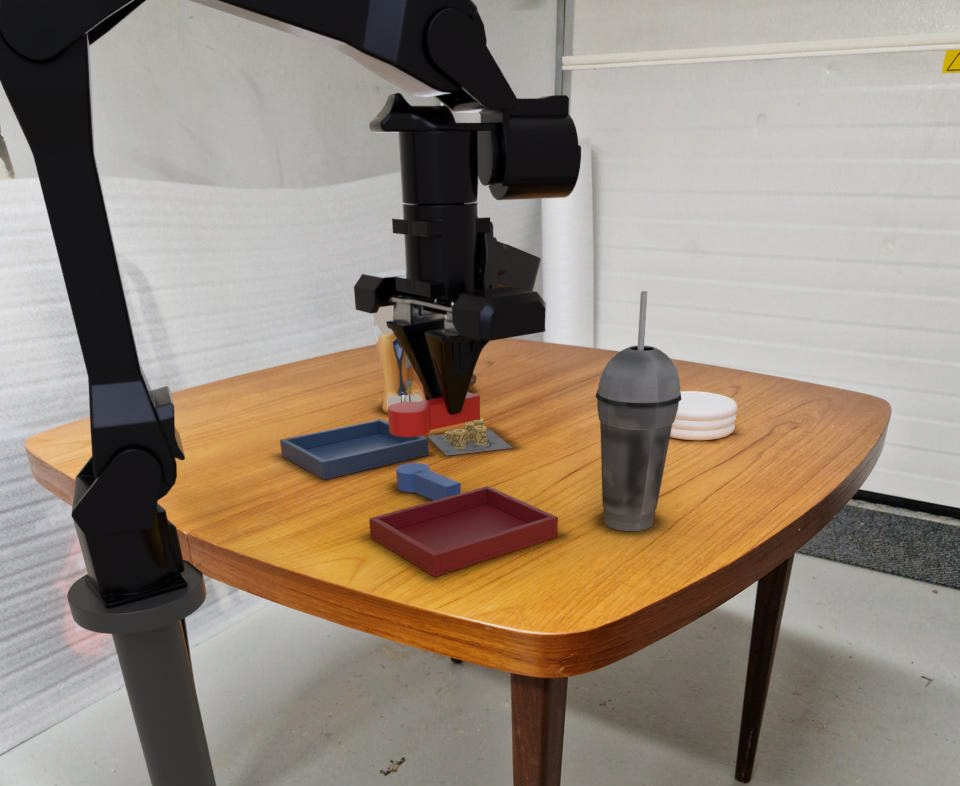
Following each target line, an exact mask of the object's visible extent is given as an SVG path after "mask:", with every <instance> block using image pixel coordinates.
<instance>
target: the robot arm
mask: <svg viewBox="0 0 960 786" xmlns="http://www.w3.org/2000/svg"><path fill="white" fill-rule="evenodd" d="M147 1H148V0H0V84H1V86H2V89H3V92H4V93H5V96H6V98H7V100H8V103H9V104H10V107H11V109H12V111H13V113H14V116H15V117H16V118H15V119H16V121H17V123H18V124H19V127H20V129H21V131H22V133H23V135H24V138H25V140H26V142H27V144H28V147H29V149H30V152H31V154H32V157H33V160H34V165H35V169H36V172H37V176H38V180H39V184H40V188H41V193H42V197H43V201H44V205H45V209H46V213H47V217H48V220H49V224H50V225H49V226H50V229H51V233H52V237H53V241H54V244H55V245H54V246H55V249H56V253H57V257H58V261H59V265H60V270H61V273H62V274H61V275H62V277H63V281H64V286H65V289H66V294H67V298H68V302H69V306H70V310H71V313H72V318H73V321H74V325H75V330H76V334H77V338H78V343H79V346H80V350H81V353H82V354H81V355H82V358H83V362H84V366H85V370H86V374H87V379H88V380H87V382H88V403H89V425H90V440H91V441H90V443H91V445H90V446H91V456H90V458H89V459H88V460H87V461H86V463H84V465H83V466H82V468H81V469H80V470H79V471H78V473H77V474H76V475H75V479H74V488H73V497H72V504H71V505H72V506H71V514H70V516H71V518H72V521H73V524H74V527H75V531H76V535H77V539H78V543H79V546H80V550H81V553H82V557H83V562H84V565H85V568H86V573H87V574H88V575H86V574H85V575H86V576H85V577H84V579H85V583H86V584H87V585H88V587H89V588H90V589H91V590H92V592H93V593H94V594H95V595H96V597H97V598H98V599H99V600H100V602H101V603H102V604H103V605H104V607H105V608H107V609H112V608H116V607H119V606H123V605H126V604H130V603H133V602H137V601H140V600H144V599H148V598H151V597H155V596H158V595H162V594H165V593H169V592H172V591H176V590H179V589H183V588H186V587H187V586H188V583H187V580H186V579H185V578H184V577H183V576H182V575H181V574H180V573H182V572H184V570H185V567H184V562H183V560H184V558H183V553H182V547H181V543H180V539H179V534H178V528H177V525H175V524H174V523H173V522H172V521H170V520H169V518H168V514H167V510H166V509H165V508H164V507H163V506H162V505H160V503H158V502H159V500H161V499H162V498H164V497H165V496H167V495H168V494H169V492H170V491H171V489H172V488H173V487H174V486H175V484H176V483H177V477H178V466H177V460H179V461H184V460H185V459H186V456H185V451H184V448H183V443H182V439H181V435H180V432H179V431H178V429H177V428H176V426H175V425H176V423H175V419H176V418H175V404H174V400H173V396H172V392H171V388H170V386H169V385H166V386H162V387H159V388H154V389H152V388H151V385H150V383H149V380H148V378H147V376H146V374H145V372H144V370H143V367H142V364H141V361H140V357H139V353H138V347H137V343H136V339H135V335H134V334H135V333H134V330H133V329H134V328H133V324H132V321H131V320H132V319H131V316H130V310H129V306H128V303H127V302H128V301H127V297H126V293H125V288H124V283H123V278H122V274H121V269H120V265H119V261H118V255H117V251H116V247H115V246H116V245H115V242H114V237H113V232H112V227H111V223H110V219H109V214H108V210H107V205H106V201H105V196H104V190H103V186H102V181H101V177H100V172H99V168H98V163H97V158H96V153H95V151H96V150H95V132H94V111H93V110H94V109H93V87H92V68H91V67H92V66H91V48H90V47H91V46H92V45H93V44H95V43H96V42H97V41H99V40H100V39H101V38H103V37H104V36H105V35H107V34H108V33H110V32H111V31H112V30H113V29H114V28H115V27H116V26H118V25H119V24H120V23H122V22H123V21H124V20H126V18H127V17H129V16H130V15H131V14H132V13H133V12H135V11H136V10H137V9H138V8H139V7H141V6H142V5H143V4H145V3H146V2H147ZM189 1H190V2H192V3H196V4H199V5H202V6H206V7H208V8H212V9H215V10H217V11H220V12H224V13H227V14H230V15H232V16H236V17H238V18H242V19H245V20H247V21H250V22H253V23H257V24H259V25H263V26H265V27H269V28H272V29H275V30H278V31H281V32H283V33H287V34H290V35H293V36H295V37H300V38H302V39H305V40H308V41H312V42H315V43H317V44H320V45H323V46H327V47H330V48H332V49H335V50H337V51H339V52H340V53H342V54H344V55H346V56H348V57H349V58H351V59H352V60H353V61H355V62H357V64H359V65H361V66H362V67H363V68H365V69H367V70H368V71H369V72H371V73H372V74H373V75H375V76H377V77H379V78H381V79H383V80H385V81H386V82H388V83H390V84H391V85H393V86H395V87H396V88H399V89H401V90H402V91H404V92H406V93H408V94H410V95H412V96H414V97H420V98H421V97H422V98H430V97H433V98H435V99H436V100H437V101H438V102H440V103H441V104H442V105H411V104H410V103H409V102H408V101H407V100H406V98H405V97H404V95H403V94H402V93H400V92H395V93H391V94H389V95H388V97H387V99H386V101H385V103H384V106H383V107H382V109H381V110H380V111H379V112H378V114H377V115H376V116H375V117H374V118H373V119H372V120H370V122H369V125H368V126H369V128H368V129H369V130H370V131H371V132H372V133H375V134H378V133H379V134H384V133H385V134H387V133H390V134H391V133H392V134H393V133H394V134H395V133H398V147H399V164H400V167H399V168H400V182H401V184H400V185H401V200H402V201H401V202H402V205H401V206H402V217H394V218H393V217H392V218H391V223H392V226H391V227H392V234H397V235H403V240H404V259H405V269H397V270H389V271H387V270H386V271H378V272H369V273H368V272H367V273H362V274H361V275H360V277H359V278H358V279H357V281H356V283H355V284H354V286H353V292H354V295H353V296H354V305H355V307H354V308H355V310H356V311H360V312H362V313H363V312H364V313H367V314H373V313H377V312H378V310H379V308H380V307H385V306H392V305H393V307H394V320H389V321H386V324H387V327H388V328H389V329H391V330H392V331H393V333H394V335H395V336H396V338H397V340H398V341H399V343H400V345H401V347H402V348H403V350H404V352H405V354H406V355H407V357H408V359H409V361H410V363H411V364H412V366H413V368H414V370H415V372H416V374H417V376H418V378H419V380H420V382H421V384H422V386H423V388H424V390H425V392H426V394H427V395H428V397H427V398H428V400H430V399H435V398H439V397H443V400H444V402H445V405H446V408H447V411H448V413H449V414H451V415H453V414H458V413H460V412H461V411H462V408H463V404H464V401H465V398H466V395H467V392H469V389H468V388H469V385H470V382H471V378H472V375H473V374H474V372H475V368H476V366H477V363H478V361H479V358H480V355H481V353H482V351H483V349H484V348H485V347H486V345H487V344H488V343H489V342H493V341H497V340H504V339H510V338H516V337H522V336H529V335H533V334H539V333H545V332H546V330H547V302H546V301H545V300H544V299H543V297H542V296H541V294H540V293H539V292H538V291H535V290H534V289H535V285H536V281H537V278H538V273H539V270H540V267H541V263H542V258H541V257H539V256H537V255H534V254H532V253H530V252H527V251H524V250H522V249H520V248H517V247H515V246H513V245H510V244H507V243H504V242H501V241H499V240H497V237H495V236H494V223H493V222H492V221H491V217H490V216H481V215H480V214H479V213H480V211H479V207H480V206H479V183H480V184H481V185H482V186H485V187H488V189H489V192H490V194H491V196H492V198H494V199H495V200H497V201H514V200H537V199H538V200H539V199H540V200H541V199H565V198H567V197H569V196H570V195H571V194H572V193H573V192H574V189H575V187H576V185H577V182H578V179H579V176H580V170H581V162H582V147H581V145H580V144H579V136H578V132H577V127H576V125H575V122H574V120H573V118H572V117H571V115H570V97H568V95H567V94H553V95H545V96H541V97H537V98H536V97H535V98H526V97H525V98H517V96H516V94H515V92H514V91H513V89H512V87H511V86H510V84H509V82H508V80H507V78H506V77H505V75H504V73H503V72H502V70H501V68H500V66H499V64H498V63H497V61H496V59H495V58H494V56H493V55H492V53H491V51H490V49H489V48H488V46H487V43H488V42H487V41H488V40H487V35H486V29H485V28H486V27H485V24H484V22H483V19H482V17H481V15H480V13H479V11H478V7H477V4H475V2H474V1H473V0H189ZM454 113H456V114H458V113H459V114H460V113H461V114H466V113H468V114H469V113H472V114H473V113H478V114H479V115H480V122H456V118H455V116H454Z"/></svg>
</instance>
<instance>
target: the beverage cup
mask: <svg viewBox="0 0 960 786" xmlns="http://www.w3.org/2000/svg"><path fill="white" fill-rule="evenodd" d="M639 302H640V303H639V318H638V319H639V320H638V321H639V322H638V335H637V345H632V346H628V347H625V348H624V349H622V350H620V351H619V352H617V353H615V355H614V356H612V357H611V358H610V359H609V361H608V362H607V363H606V364H605V366H604V368H603V370H602V372H601V374H600V378H599V382H598V386H597V390H596V393H595V398H596V399H597V401H596V409H597V417H598V420H599V421H600V422H599V423H600V424H599V425H600V427H599V428H600V455H601V456H600V462H601V463H600V464H601V465H600V466H601V500H602V501H601V502H602V510H603V512H602V513H603V524H604V525H605V526H607V527H608V528H611V529H613V530H616V531H622V532H641V531H644V530H648V529H650V528H651V527H653V525H654V519H655V515H656V510H657V508H658V504H659V497H660V493H661V486H662V483H663V477H664V470H665V465H666V461H667V460H666V459H667V455H668V450H669V444H670V438H671V437H670V434H671V428H672V423H674V421H675V417H676V414H677V411H678V405H679V401H680V400H681V392H680V391H681V383H680V382H681V381H680V375H679V372H678V370H677V367H676V365H675V364H674V362H673V360H672V359H671V358H670V357H669V356H668V355H667V354H666V353H665V352H663V350H661V349H658V348H657V347H654V346H651V345H645V338H646V321H647V320H646V319H647V305H648V303H647V302H648V291H646V290H641V291H640V301H639Z"/></svg>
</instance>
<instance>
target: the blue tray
mask: <svg viewBox="0 0 960 786" xmlns="http://www.w3.org/2000/svg"><path fill="white" fill-rule="evenodd" d="M279 444H280V451H281V456H282V457H283V458H285V459H286V460H289V461H290V462H292V463H293V464H295V465H297V466H299V467H301V468H303V470H305V471H307V472H309V473H312V474H313V475H315V476H317V477H318V478H320V479H322V480H324V481H325V480H329V479H334V478H338V477H342V476H346V475H350V474H355V473H360V472H362V471H368V470H371V469H376V468H381V467H384V466H388V465H389V466H390V465H392V464H396V463H401V462H406V461H409V460H413V459H417V458H423V457H426V456H429V455H430V451H429V438H428V437H425V436H424V435H422V436H417V437H399V436H395V435H392V434H391V433H390V432H389V421H386V420H384V419H382V418H379V419H374V420H369V421H365V422H360V423H355V424H351V425H345V426H341V427H336V428H330V429H325V430H321V431H316V432H311V433H306V434H301V435H295V436H291V437H286V438H282V439H280V440H279Z"/></svg>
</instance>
